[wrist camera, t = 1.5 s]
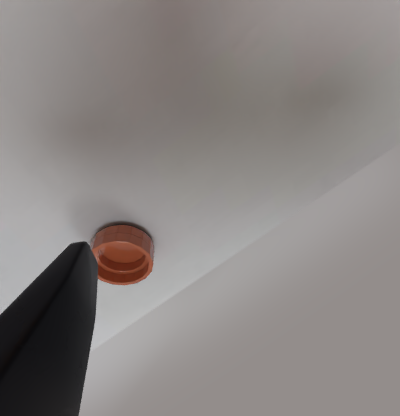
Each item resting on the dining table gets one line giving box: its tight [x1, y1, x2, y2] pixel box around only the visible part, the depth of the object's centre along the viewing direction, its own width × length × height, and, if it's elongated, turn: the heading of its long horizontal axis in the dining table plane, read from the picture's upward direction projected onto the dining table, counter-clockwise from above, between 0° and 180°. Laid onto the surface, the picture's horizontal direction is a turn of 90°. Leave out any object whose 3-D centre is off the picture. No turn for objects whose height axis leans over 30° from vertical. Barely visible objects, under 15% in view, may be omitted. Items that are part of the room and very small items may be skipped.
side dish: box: [90, 225, 154, 285], centre depth 24 cm, size 5×5×2 cm
